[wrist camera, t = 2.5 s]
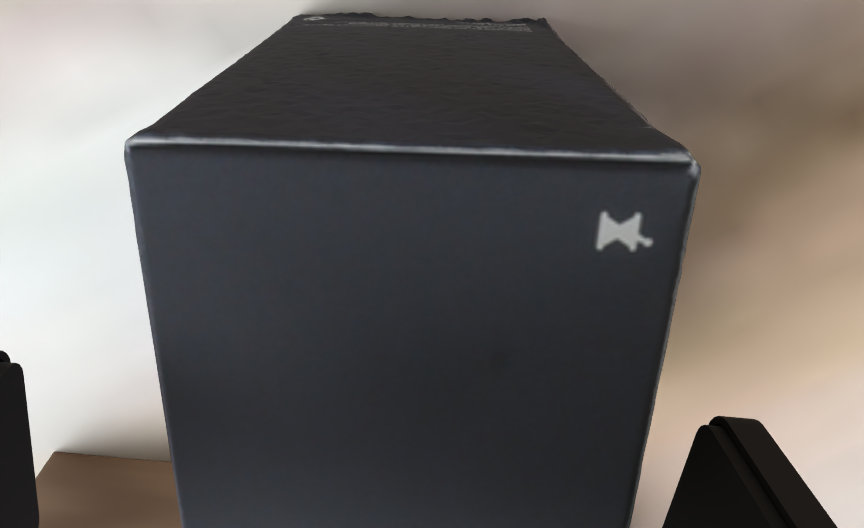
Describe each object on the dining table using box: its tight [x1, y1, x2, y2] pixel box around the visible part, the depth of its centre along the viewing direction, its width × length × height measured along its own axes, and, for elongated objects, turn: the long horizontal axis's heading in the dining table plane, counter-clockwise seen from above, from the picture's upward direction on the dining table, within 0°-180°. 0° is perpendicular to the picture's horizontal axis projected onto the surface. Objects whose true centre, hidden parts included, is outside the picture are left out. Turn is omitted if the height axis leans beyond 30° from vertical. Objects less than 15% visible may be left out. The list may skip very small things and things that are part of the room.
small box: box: [124, 13, 701, 528], centre depth 14 cm, size 11×6×10 cm, turn 178°
